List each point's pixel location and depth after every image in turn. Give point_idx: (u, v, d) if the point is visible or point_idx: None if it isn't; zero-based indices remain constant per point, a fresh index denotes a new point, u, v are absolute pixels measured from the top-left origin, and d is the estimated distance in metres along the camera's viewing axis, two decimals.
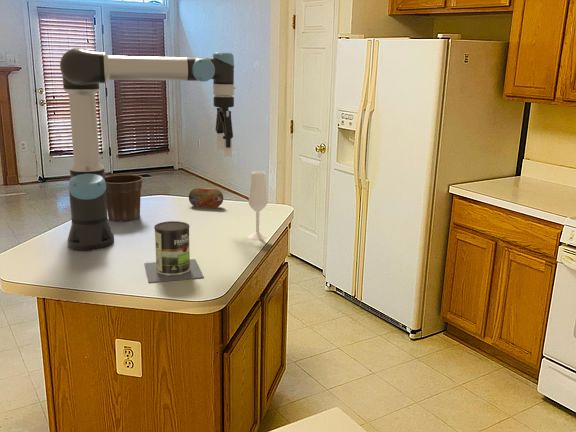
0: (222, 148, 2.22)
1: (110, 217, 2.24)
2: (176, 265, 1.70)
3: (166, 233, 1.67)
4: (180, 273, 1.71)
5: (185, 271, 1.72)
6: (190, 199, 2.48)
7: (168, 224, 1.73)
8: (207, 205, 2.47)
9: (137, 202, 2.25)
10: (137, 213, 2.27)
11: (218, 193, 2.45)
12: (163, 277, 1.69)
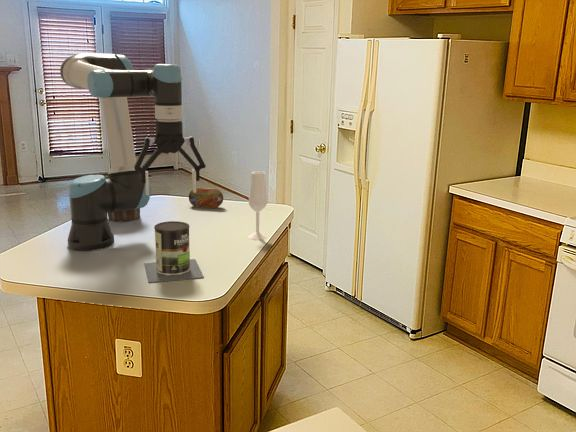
0: (193, 189, 1.70)
1: (110, 217, 2.24)
2: (176, 265, 1.70)
3: (166, 233, 1.67)
4: (180, 273, 1.71)
5: (185, 271, 1.72)
6: (190, 199, 2.48)
7: (168, 224, 1.73)
8: (207, 205, 2.47)
9: None
10: (137, 213, 2.27)
11: (218, 193, 2.45)
12: (163, 277, 1.69)
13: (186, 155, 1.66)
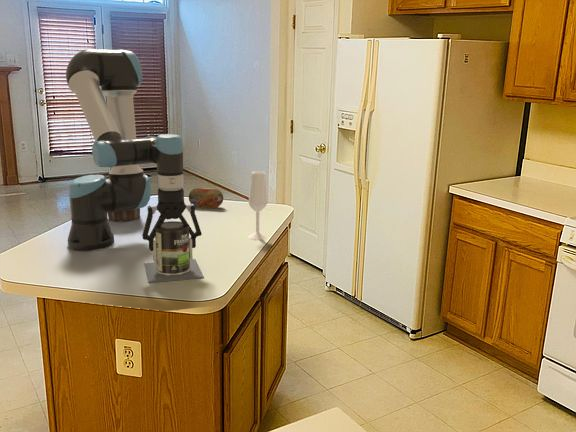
0: None
1: (110, 217, 2.24)
2: (176, 265, 1.70)
3: (166, 233, 1.67)
4: (180, 273, 1.71)
5: (185, 271, 1.72)
6: (190, 199, 2.48)
7: (168, 224, 1.73)
8: (207, 205, 2.47)
9: None
10: (137, 213, 2.27)
11: (218, 193, 2.45)
12: (163, 277, 1.69)
13: (185, 222, 1.71)
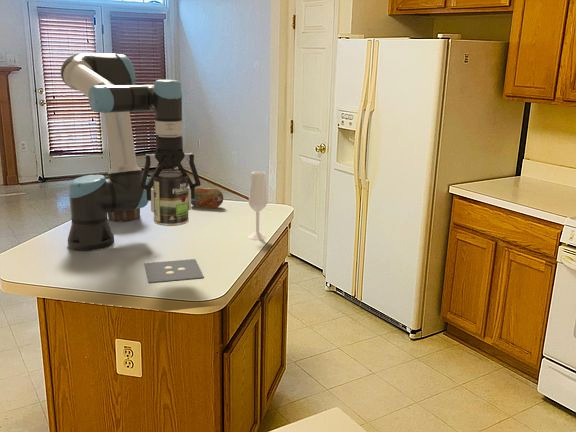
0: (188, 207, 1.71)
1: (110, 217, 2.24)
2: (174, 215, 1.66)
3: (164, 181, 1.63)
4: (178, 223, 1.67)
5: (183, 222, 1.68)
6: None
7: (167, 174, 1.69)
8: (207, 205, 2.47)
9: None
10: (137, 213, 2.27)
11: (218, 193, 2.45)
12: (163, 277, 1.69)
13: (184, 171, 1.67)
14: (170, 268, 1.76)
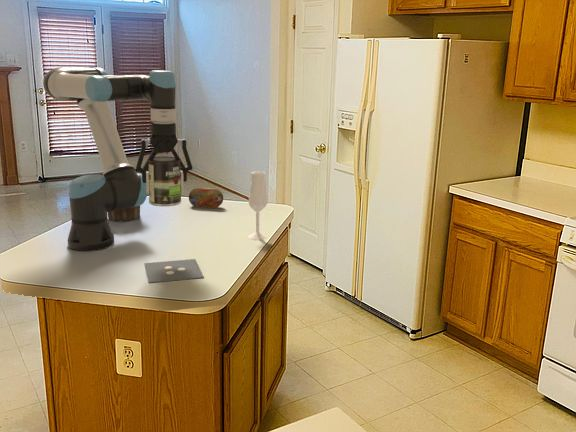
0: None
1: (110, 217, 2.24)
2: (167, 196, 1.78)
3: (158, 165, 1.75)
4: (171, 204, 1.80)
5: (176, 203, 1.81)
6: (190, 199, 2.48)
7: (161, 158, 1.82)
8: (207, 205, 2.47)
9: None
10: (137, 213, 2.27)
11: (218, 193, 2.45)
12: (163, 277, 1.69)
13: (177, 156, 1.80)
14: (170, 268, 1.76)
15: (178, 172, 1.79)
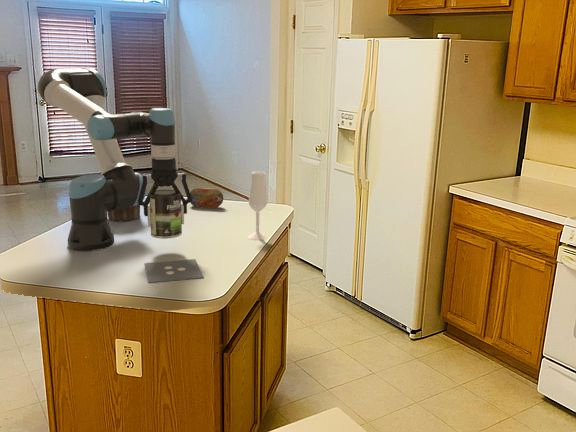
0: (181, 221, 1.89)
1: (110, 217, 2.24)
2: (169, 229, 1.84)
3: (159, 199, 1.81)
4: (172, 236, 1.86)
5: (177, 235, 1.87)
6: None
7: (162, 191, 1.88)
8: (207, 205, 2.47)
9: None
10: (137, 213, 2.27)
11: (218, 193, 2.45)
12: (163, 277, 1.69)
13: (177, 190, 1.86)
14: (170, 268, 1.76)
15: (178, 205, 1.86)
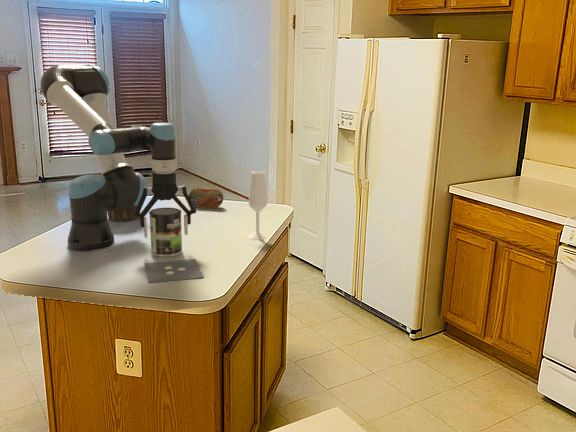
0: (185, 232, 1.91)
1: (110, 217, 2.24)
2: (169, 247, 1.86)
3: (160, 218, 1.83)
4: (173, 254, 1.88)
5: (177, 253, 1.89)
6: (190, 199, 2.48)
7: (162, 210, 1.90)
8: (207, 205, 2.47)
9: None
10: None
11: (218, 193, 2.45)
12: (163, 277, 1.69)
13: (179, 202, 1.87)
14: (170, 268, 1.76)
15: (179, 223, 1.87)
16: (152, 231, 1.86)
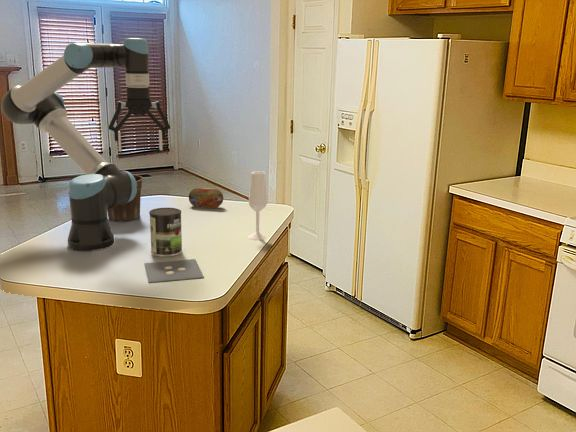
0: (160, 148, 1.97)
1: (110, 217, 2.24)
2: (169, 247, 1.86)
3: (160, 218, 1.83)
4: (173, 254, 1.88)
5: (177, 253, 1.89)
6: (190, 199, 2.48)
7: (162, 210, 1.90)
8: (207, 205, 2.47)
9: (137, 202, 2.25)
10: (137, 213, 2.27)
11: (218, 193, 2.45)
12: (163, 277, 1.69)
13: (153, 117, 1.93)
14: (170, 268, 1.76)
15: (179, 223, 1.87)
16: (152, 231, 1.86)
